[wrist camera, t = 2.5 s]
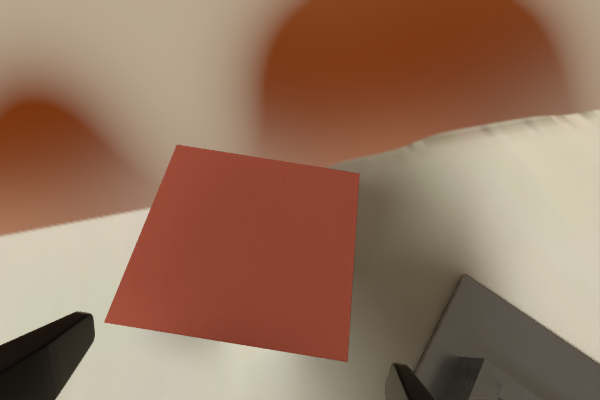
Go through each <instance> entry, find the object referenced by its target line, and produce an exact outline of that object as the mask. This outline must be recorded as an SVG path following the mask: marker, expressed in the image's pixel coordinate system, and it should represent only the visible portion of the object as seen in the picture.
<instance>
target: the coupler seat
mask: <svg viewBox="0 0 600 400" xmlns="http://www.w3.org/2000/svg"><path fill="white" fill-rule="evenodd" d="M414 374H415V375H416V376H417V377H418V378H419V380H420V381H421V382H422V383H423V385H424V386H425V387H426V388H427V389H428V391H429V392H430V393H431V394H432V395H433V397H434V398H435V399H436V400H600V365H599V364H597V363H596V362H594V361H593V360H591V359H590V358H588V357H587V356H585V355H584V354H582V353H581V352H579V351H578V350H576V349H575V348H574V347H572V346H571V345H569V344H568V343H566V342H565V341H563V340H562V339H560V338H559V337H557V336H556V335H554V334H553V333H551V332H550V331H548V330H547V329H545V328H544V327H543V326H541V325H540V324H538V323H537V322H535V321H534V320H532V319H531V318H529V317H528V316H526V315H525V314H523V313H522V312H520V311H519V310H517V309H516V308H515V307H513V306H512V305H510V304H509V303H507V302H506V301H504V300H503V299H501V298H500V297H498V296H497V295H495V294H494V293H492V292H491V291H489V290H488V289H486V288H485V287H484V286H482V285H481V284H479V283H478V282H476V281H475V280H473V279H472V278H470V277H469V276H467V275H466V274H465V275H462V277H461V279H460V281H459V283H458V285H457V287H456V289H455V291H454V293H453V295H452V297H451V299H450V301H449V303H448V305H447V307H446V309H445V311H444V313H443V315H442V317H441V319H440V321H439V323H438V326H437V328H436V330H435V332H434V334H433V336H432V338H431V340H430V342H429V344H428V346H427V348H426V350H425V352H424V354H423V356H422V358H421V360H420V362H419V364H418V366H417V368H416V370H415V372H414Z"/></svg>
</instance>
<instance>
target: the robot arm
mask: <svg viewBox="0 0 600 400" xmlns="http://www.w3.org/2000/svg"><path fill="white" fill-rule="evenodd" d="M94 338H95V330H94V320H93V316H92V314H90V313H86V312H74V313H72V314H70V315H67V316H65V317H63V318H61V319H58V320H56V321H54V322H52V323H49V324H47V325H45V326H43V327H40V328H38V329H36V330H34V331H32V332H29V333H27V334H25V335H23V336H20V337H18V338H16V339H14V340H11V341H9V342H7V343H5V344H2V345H0V400H55V399H56V398H57V396H58V395H59V393H60V392H61V390H62V389H63V388H64V386H65V385H66V383H67V381H68V380H69V378H70V377H71V375H72V374H73V372H74V371H75V369H76V368H77V366H78V365H79V363H80V361H81V360H82V358H83V357H84V355H85V354H86V352H87V351H88V349H89V348H90V346H91V345H92V343H93V341H94ZM385 394H386V400H436V399H435V398H434V397H433V395H432V394H431V393H430V392H429V391H428V389H427V388H426V387H425V386H424V385H423V383H422V382H421V381H420V380H419V378H418V377H417V376H416V375H415V374H414V372H413V371H412V370H411V369H410V368H409V367H408V366H407V365H405V364H399V363H393V364H392V366H391V368H390V371H389V374H388V377H387V380H386V384H385Z"/></svg>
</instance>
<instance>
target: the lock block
mask: <svg viewBox="0 0 600 400" xmlns="http://www.w3.org/2000/svg"><path fill="white" fill-rule="evenodd" d="M358 190H359V173H353V172H346V171H340V170H334V169H327V168H321V167H315V166H308V165H302V164H295V163H289V162H283V161H277V160H270V159H264V158H258V157H251V156H245V155H239V154H233V153H226V152H220V151H214V150H207V149H201V148H194V147H188V146H182V145H177V146H176V148H175V151H174V153H173V156H172V158H171V161H170V163H169V165H168V168H167V170H166V173H165V175H164V178H163V180H162V183H161V185H160V187H159V190H158V192H157V195H156V197H155V199H154V202H153V204H152V207H151V209H150V212H149V214H148V217H147V219H146V221H145V224H144V226H143V229H142V231H141V234H140V236H139V239H138V241H137V243H136V246H135V248H134V251H133V253H132V256H131V258H130V260H129V263H128V265H127V268H126V270H125V273H124V275H123V278H122V280H121V282H120V285H119V287H118V290H117V292H116V295H115V297H114V300H113V302H112V304H111V307H110V309H109V312H108V314H107V317H106V319H105V321H104V322H105V323H111V324H117V325H123V326H130V327H136V328H142V329H148V330H154V331H160V332H166V333H173V334H179V335H185V336H191V337H197V338H203V339H210V340H216V341H222V342H228V343H234V344H240V345H246V346H253V347H259V348H265V349H271V350H277V351H283V352H290V353H296V354H302V355H308V356H314V357H320V358H327V359H333V360H339V361H345V362H347V361H348V346H349V330H350V315H351V299H352V283H353V268H354V252H355V236H356V221H357V205H358Z"/></svg>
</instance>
